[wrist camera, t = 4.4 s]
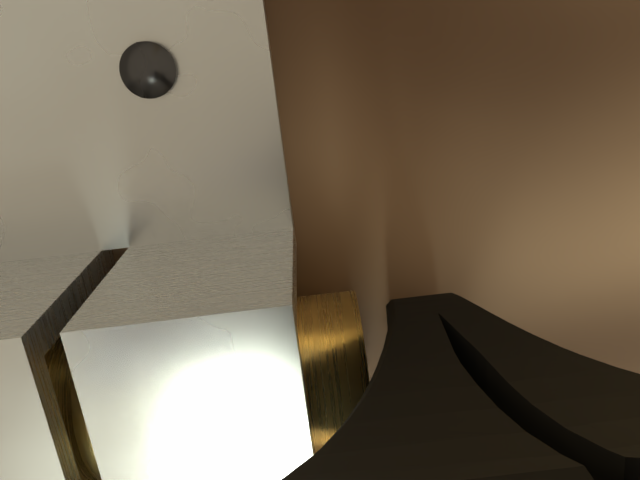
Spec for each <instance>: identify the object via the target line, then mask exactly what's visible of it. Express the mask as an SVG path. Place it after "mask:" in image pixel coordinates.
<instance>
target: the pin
mask: <svg viewBox="0 0 640 480" xmlns="http://www.w3.org/2000/svg"><path fill="white" fill-rule="evenodd" d="M297 331H298V338H299V345H300V352H301V359H302V367H303V374H304V381H305V388H306V395H307V403H308V410H309V417H310V424H311V431H312V438H313V446H314V453H316V452H317V451H319V450H320V449H321V448H322V446H323V445H324V444H325V443H326V442H327V441H328V440H329V439H330V438H331V437H332V436H333V435H334V434H335V433H336V432H337V430H338V429H339V428H340V427H341V426H342V424H343V423H344V422H345V420H346V419H347V418H348V416H349V415H350V413H351V412H352V411H353V409H354V408H355V406H356V405H357V403H358V402H359V400H360V399H361V397H362V395H363V393H364V392H365V390H366V388H367V386H368V384H369V382H370V381H369V373H368V365H367V358H366V351H365V344H364V337H363V330H362V324H361V318H360V312H359V307H358V302H357V297H356V293H355V291H354V290H353V291H345V292H336V293H328V294H319V295H311V296H303V297H297ZM44 358H45V362H46V365H47V368H48V372H49V375H50V378H51V382H52V385H53V388H54V392H55V395H56V398H57V402H58V405H59V408H60V412H61V415H62V418H63V422H64V425H65V428H66V432H67V435H68V438H69V442H70V445H71V448H72V452H73V455H74V458H75V462H76V465H77V468H78V472H79V475H80V478H81V480H102V479H101V476H100V472H99V469H98V465H97V462H96V458H95V455H94V451H93V448H92V444H91V441H90V437H89V434H88V430H87V427H86V423H85V420H84V416H83V413H82V409H81V406H80V402H79V399H78V395H77V392H76V388H75V385H74V381H73V378H72V374H71V371H70V367H69V364H68V360H67V357H66V353H65V350H64V346H63V343H62V339H61V336H59V338H58V339H57V340H56V341H55V343H54V344H53V345H52V346H51V348H50V349H49V350H48V351H47V353H46V354H45V355H44Z"/></svg>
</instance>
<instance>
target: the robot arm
mask: <svg viewBox="0 0 640 480" xmlns="http://www.w3.org/2000/svg"><path fill="white" fill-rule="evenodd" d="M386 314H387V327H388V330H387V334H386V339H385V343H384V347H383V350H382V353H381V356H380V358H379V361H378V364H377V366H376V369H375V371H374V374H373V376H372V378H371V380H370V382H369V384H368V386H367V388H366V390H365V392H364V393H363V395H362V397H361V399H360V400H359V402H358V403H357V405H356V406H355V408H354V409H353V411H352V412H351V413H350V415H349V416H348V418H347V419H346V420H345V422H344V423H343V424H342V426H341V427H340V428H339V429H338V430H337V432H336V433H335V434H334V435H333V436H332V437H331V438H330V439H329V440H328V441H327V442H326V443H325V444H324V445H323V446H322V448H321V449H320V450H319V451H317V452H316V453H315V454H314V455H313V456H312V457H310V458H309V459H308V460H306V461H305V462H304V463H302V464H301V465H300V466H298V467H297V468H296V469H295V470H293V471H292V472H291V473H289V474H288V475H287V476H285V477H284V478H282V479H281V480H640V374H638V373H635V372H632V371H628V370H625V369H621V368H618V367H615V366H612V365H609V364H606V363H603V362H600V361H598V360H595V359H592V358H589V357H586V356H583V355H580V354H578V353H575V352H573V351H570V350H567V349H565V348H563V347H560V346H558V345H556V344H553V343H551V342H549V341H547V340H544V339H542V338H540V337H538V336H535V335H533V334H531V333H529V332H527V331H525V330H523V329H521V328H519V327H517V326H515V325H513V324H511V323H509V322H507V321H505V320H503V319H502V318H500V317H498V316H496V315H494V314H492V313H490V312H489V311H487V310H485V309H483V308H481V307H480V306H478V305H476V304H474V303H472V302H470V301H468V300H467V299H465V298H463V297H461V296H459V295H457V294H454V293H443V294H434V295H425V296H417V297H408V298H400V299H391V300H390V302H389V303H388V304H387V305H386Z"/></svg>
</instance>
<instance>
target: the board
mask: <svg viewBox="0 0 640 480" xmlns="http://www.w3.org/2000/svg"><path fill="white" fill-rule="evenodd" d="M264 3H265V11H266V18H267V26H268V34H269V41H270V49H271V56H272V64H273V71H274V79H275V86H276V94H277V101H278V109H279V116H280V124H281V131H282V139H283V147H284V154H285V162H286V169H287V177H288V184H289V192H290V199H291V207H292V214H293V222H294V229H295V237H296V244H297V297H303V296H311V295H319V294H328V293H336V292H345V291H353V290H354V291H355V293H356V297H357V302H358V307H359V312H360V318H361V324H362V330H363V337H364V344H365V351H366V358H367V365H368V373H369V381H370V380H371V378H372V376H373V374H374V371H375V369H376V366H377V364H378V361H379V358H380V356H381V353H382V350H383V347H384V343H385V339H386V334H387V330H388V327H387V314H386V305H387V304H388V303H389V302H390V300H391V299H400V298H408V297H417V296H425V295H434V294H443V293H454V294H457V295H459V296H461V297H463V298H465V299H467V300H468V301H470V302H472V303H474V304H476V305H478V306H480V307H481V308H483V309H485V310H487V311H489V312H490V313H492V314H494V315H496V316H498V317H500V318H502V319H503V320H505V321H507V322H509V323H511V324H513V325H515V326H517V327H519V328H521V329H523V330H525V331H527V332H529V333H531V334H533V335H535V336H538V337H540V338H542V339H544V340H547V341H549V342H551V343H553V344H556V345H558V346H560V347H563V348H565V349H567V350H570V351H573V352H575V353H578V354H580V355H583V356H586V357H589V358H592V359H595V360H598V361H600V362H603V363H606V364H609V365H612V366H615V367H618V368H621V369H625V370H628V371H632V372H635V373H638V374H640V0H264ZM128 248H129V247H128ZM128 248H120V249H111V250H112V254H113V258H114V262H115V264H116V263H117V261H118V260H119V259H120V258H121V256H122V255H123V254H124V253H125V251H126V250H127V249H128Z"/></svg>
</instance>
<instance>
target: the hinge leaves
mask: <svg viewBox="0 0 640 480" xmlns="http://www.w3.org/2000/svg"><path fill="white" fill-rule="evenodd" d="M128 247H129V248H128ZM120 248H128V249H127V250H126V251H125V253H124V254H123V255H122V256H121V258H120V259H119V260H118V261H117V263H116V264H115V262H114V258H113V254H112V250H111V249H120ZM59 336H61V339H62V343H63V346H64V350H65V353H66V357H67V360H68V364H69V367H70V371H71V374H72V378H73V381H74V385H75V388H76V392H77V395H78V399H79V402H80V406H81V409H82V413H83V416H84V420H85V423H86V427H87V430H88V434H89V437H90V441H91V444H92V448H93V451H94V455H95V458H96V462H97V465H98V469H99V472H100V476H101V479H102V480H281V479H282V478H284V477H285V476H287V475H288V474H289V473H291V472H292V471H293V470H295V469H296V468H297V467H298V466H300V465H301V464H302V463H304V462H305V461H306V460H308V459H309V458H310V457H312V456H313V455H314V454H315V453H314V446H313V438H312V431H311V424H310V417H309V410H308V403H307V395H306V388H305V381H304V374H303V367H302V359H301V352H300V345H299V338H298V331H297V244H296V237H295V229H294V222H293V214H292V207H291V199H290V192H289V184H288V177H287V169H286V162H285V154H284V147H283V139H282V131H281V124H280V116H279V109H278V101H277V94H276V86H275V79H274V71H273V64H272V56H271V49H270V41H269V34H268V26H267V18H266V11H265V3H264V0H0V480H81V478H80V475H79V472H78V468H77V465H76V462H75V458H74V455H73V452H72V448H71V445H70V442H69V438H68V435H67V432H66V428H65V425H64V422H63V418H62V415H61V412H60V408H59V405H58V402H57V398H56V395H55V392H54V388H53V385H52V382H51V378H50V375H49V372H48V368H47V365H46V362H45V358H44V355H45V354H46V353H47V351H48V350H49V349H50V348H51V346H52V345H53V344H54V343H55V341H56V340H57V339H58V338H59Z"/></svg>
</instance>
